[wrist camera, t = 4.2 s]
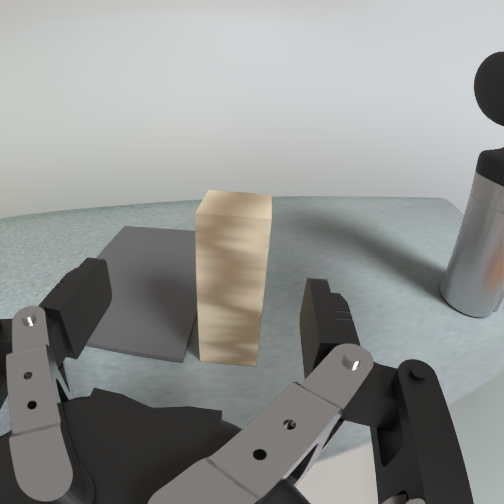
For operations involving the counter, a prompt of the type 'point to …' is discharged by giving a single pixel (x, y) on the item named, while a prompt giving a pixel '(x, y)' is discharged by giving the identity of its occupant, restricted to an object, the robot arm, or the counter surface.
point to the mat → (149, 293)
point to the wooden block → (231, 274)
